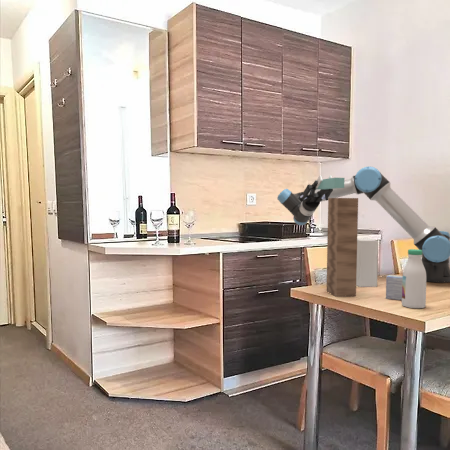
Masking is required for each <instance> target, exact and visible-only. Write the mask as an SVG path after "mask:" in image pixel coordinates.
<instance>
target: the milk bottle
mask: <svg viewBox="0 0 450 450" xmlns="http://www.w3.org/2000/svg"><path fill="white" fill-rule="evenodd" d="M407 256H408V259H407V261H406V264H405V265H404V267H403V270H402V276H403V278H402V300H401V305H402V306H403V307H406V308H411V309H425V308H426V305H427V303H426V302H427V281H426V270H425V268H424V265H423V263H422V250H419V249H418V248H417V249H413V248H411V249H408V250H407Z"/></svg>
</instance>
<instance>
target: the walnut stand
mask: <svg viewBox="0 0 450 450" xmlns="http://www.w3.org/2000/svg"><path fill="white" fill-rule="evenodd" d="M358 215H359V198H358V197H338V198H328V200H327V239H326V240H327V243H326V244H327V245H326V246H327V248H326V251H327V252H326V253H327V254H326V260H327V261H326V291H327V293H328V292H329V294H330V293H331V294H330V295H332V294H333V296H334V297H336V298H340V297H343V298H344V297H345V298H346V297H356V296H357V286H356V273H357V239H358V228H359V227H358V224H359V223H358V221H359V216H358Z"/></svg>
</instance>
